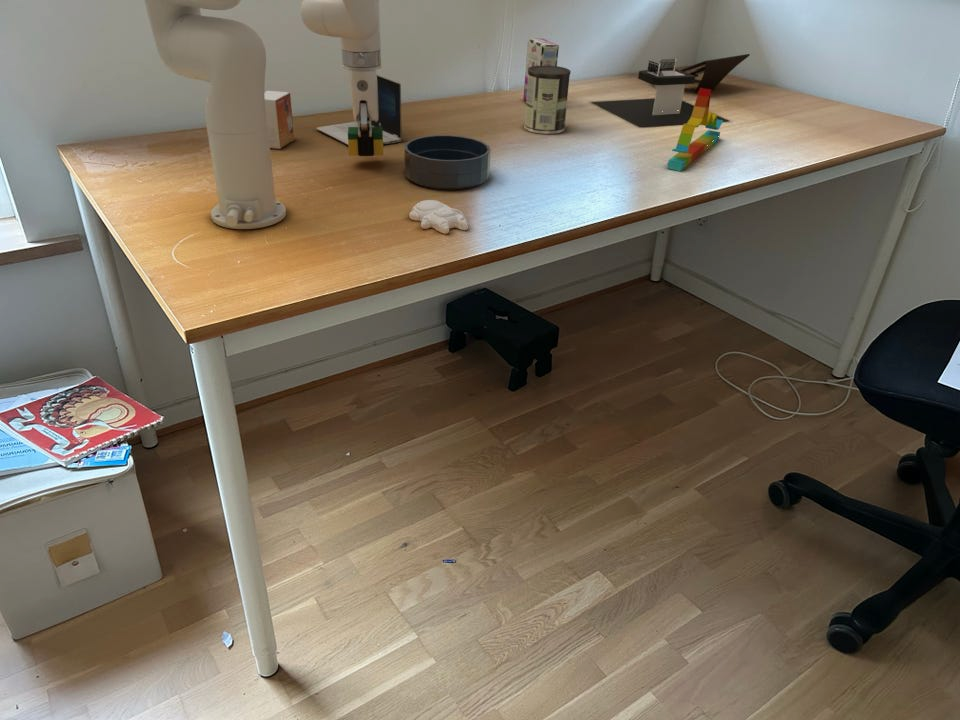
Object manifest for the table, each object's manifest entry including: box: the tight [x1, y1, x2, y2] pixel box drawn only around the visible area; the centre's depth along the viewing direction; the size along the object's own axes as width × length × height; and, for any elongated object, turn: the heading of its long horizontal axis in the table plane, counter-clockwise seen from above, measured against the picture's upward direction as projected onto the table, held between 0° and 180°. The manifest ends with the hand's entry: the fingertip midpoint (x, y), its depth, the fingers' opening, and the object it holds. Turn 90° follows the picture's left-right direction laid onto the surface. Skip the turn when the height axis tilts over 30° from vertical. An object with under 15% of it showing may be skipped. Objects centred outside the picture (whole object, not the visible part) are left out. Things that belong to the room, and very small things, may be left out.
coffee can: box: [523, 65, 572, 135], centre depth 180 cm, size 10×10×14 cm
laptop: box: [315, 74, 403, 146], centre depth 168 cm, size 18×12×13 cm
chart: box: [666, 88, 724, 172], centre depth 167 cm, size 30×3×15 cm, turn 149°
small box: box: [264, 90, 295, 150], centre depth 161 cm, size 8×6×10 cm
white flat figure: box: [408, 199, 469, 235], centre depth 129 cm, size 9×12×3 cm
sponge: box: [347, 126, 384, 157], centre depth 152 cm, size 5×7×4 cm
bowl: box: [403, 134, 492, 191], centre depth 149 cm, size 17×17×6 cm
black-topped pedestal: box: [592, 58, 730, 128], centre depth 200 cm, size 28×26×13 cm
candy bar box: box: [522, 37, 560, 102], centre depth 200 cm, size 11×5×16 cm, turn 17°
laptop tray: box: [679, 53, 750, 93], centre depth 228 cm, size 23×23×9 cm
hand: (366, 150), depth 153 cm, fingers closed on sponge, 4 cm apart
